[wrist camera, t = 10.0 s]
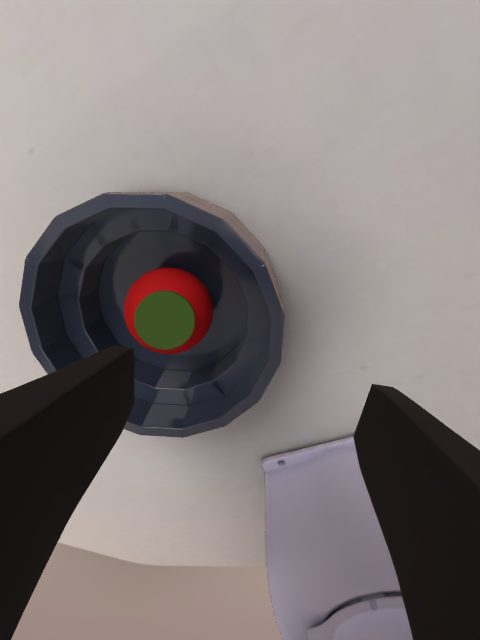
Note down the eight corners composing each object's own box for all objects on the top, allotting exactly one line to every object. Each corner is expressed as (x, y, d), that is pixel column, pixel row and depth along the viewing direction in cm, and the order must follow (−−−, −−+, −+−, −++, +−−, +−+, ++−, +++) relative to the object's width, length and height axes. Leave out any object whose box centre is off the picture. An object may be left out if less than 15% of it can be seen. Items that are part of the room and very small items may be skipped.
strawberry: (154, 352, 18) (140, 384, 14) (120, 283, 17) (92, 294, 13) (222, 322, 19) (231, 345, 14) (192, 253, 17) (190, 253, 13)
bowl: (137, 407, 22) (107, 458, 18) (34, 243, 18) (-36, 259, 14) (304, 356, 19) (316, 401, 15) (230, 152, 15) (218, 137, 11)
